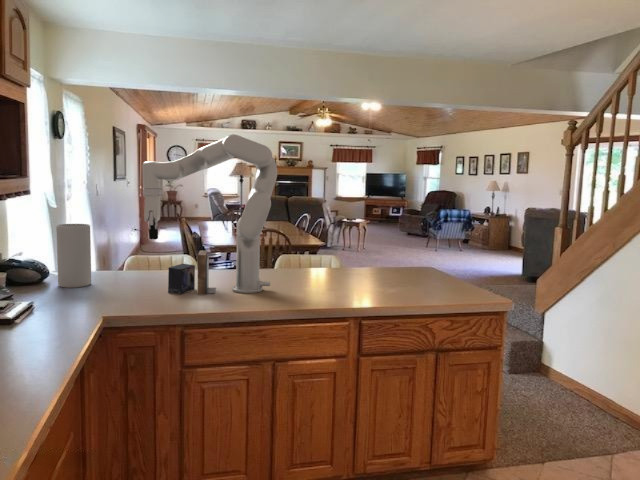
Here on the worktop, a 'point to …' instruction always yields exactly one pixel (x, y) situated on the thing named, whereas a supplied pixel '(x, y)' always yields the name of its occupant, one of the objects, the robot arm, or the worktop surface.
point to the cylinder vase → (73, 255)
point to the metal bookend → (207, 289)
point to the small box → (181, 278)
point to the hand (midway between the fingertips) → (153, 238)
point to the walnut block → (201, 271)
